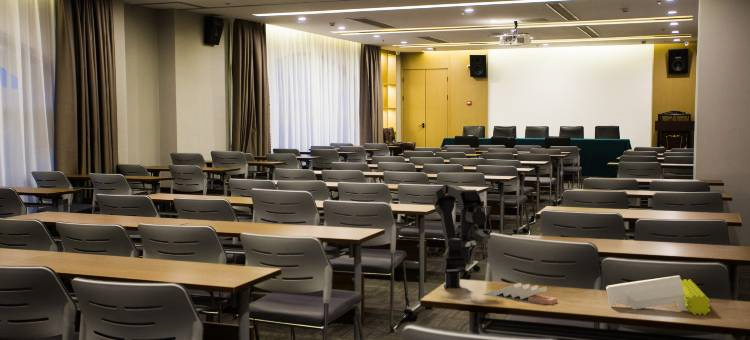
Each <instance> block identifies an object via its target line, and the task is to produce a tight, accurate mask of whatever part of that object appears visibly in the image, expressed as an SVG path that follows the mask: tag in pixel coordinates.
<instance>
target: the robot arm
mask: <svg viewBox="0 0 750 340" xmlns="http://www.w3.org/2000/svg"><path fill="white" fill-rule="evenodd" d="M456 202H457V203H458V204H459V210H460V220H459V221H460V224H458V226H457V229H459V230H460V232H459V233H460V235H458V236H457V233H456V227H455V222H454V218H453V210H454V208H455V203H456ZM432 205H433V207H434V210H435V212H436V213H437V214H438V215H439V216H440V221H441V222H440V223H441V227H442V228H441V229H442V233H443V238H444V244H445V252H444V254H443V259H442V262H441V264H440V267H439V268H440V272H441V273H443V274H445V281H444V282H445V284H443V287H444V289H446V290H447V289H461V288H462V286H461V279H460V277H461V273H463V274H464V273H466V266H467V264H470V263H471V259H472V256H473V253H474V251H475V250H476V249H477V248H479V246H480V245H484V244H488V241H489V240H491V230H489V229H484V230H479V226H483V225H484V224H485V222H486V221H487V215H486V212H485V211H483V210H482V209H483V202H482V199H481V197H480V194H479V192H478V190H477V189H465V188H463V187H461V186H458V185H457V184H455V183H445V184H443V186H442V187H441V188H440V189H438V190H437V191H436V192H435V193H434V195H433V197H432ZM479 244H480V245H479Z"/></svg>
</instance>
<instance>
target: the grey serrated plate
mask: <svg viewBox="0 0 750 340" xmlns="http://www.w3.org/2000/svg"><path fill="white" fill-rule="evenodd" d="M495 291H496V290H494V291H489V292H487V293H483V294H482V295H483V296H490V297H495V298H502V299H507V300H513V301H517V302H525V303H529V304H536V305H541V303H538V302H532V301H528V298H524V299H520V296H518V297H514V298H512V296H511V295H509V296H505V297H504V295H503V294H499V295H496V293H495Z"/></svg>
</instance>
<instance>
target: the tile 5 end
mask: <svg viewBox="0 0 750 340" xmlns="http://www.w3.org/2000/svg"><path fill="white" fill-rule="evenodd" d="M528 301H532V302H538V303H540V304H544V305H546V304H547V305H553V304H554V305H555V304H557V303H558V297H553V296H546V295H540V294H536V295H533V296H529V297H528Z"/></svg>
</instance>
